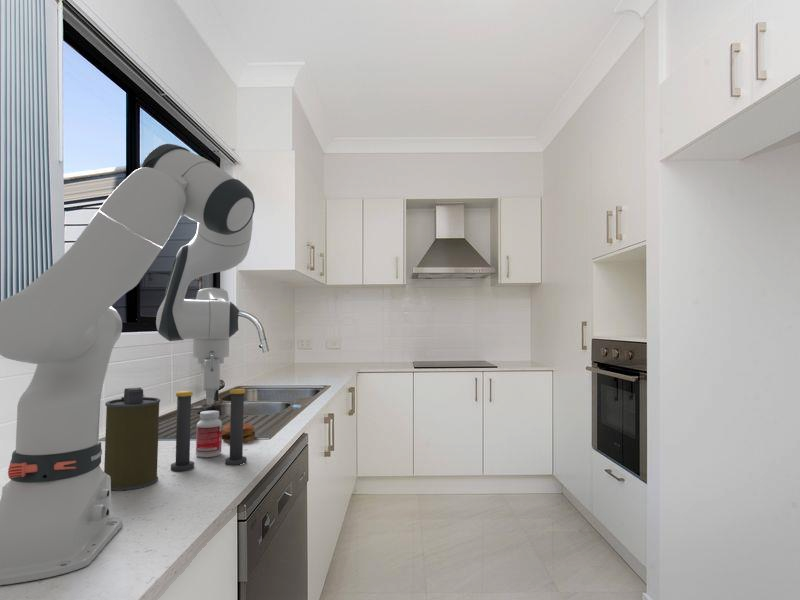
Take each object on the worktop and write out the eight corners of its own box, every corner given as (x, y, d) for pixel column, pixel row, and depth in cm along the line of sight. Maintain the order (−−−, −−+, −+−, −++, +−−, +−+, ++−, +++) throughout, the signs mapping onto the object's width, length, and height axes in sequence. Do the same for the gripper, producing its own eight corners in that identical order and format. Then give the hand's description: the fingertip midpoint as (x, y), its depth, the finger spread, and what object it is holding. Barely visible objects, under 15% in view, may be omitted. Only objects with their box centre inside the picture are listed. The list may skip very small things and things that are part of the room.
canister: (164, 483, 104) (167, 389, 105) (109, 494, 97) (112, 393, 98) (149, 471, 112) (151, 384, 113) (96, 481, 105) (100, 387, 106)
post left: (193, 469, 114) (195, 393, 114) (170, 472, 112) (172, 394, 112) (193, 464, 118) (195, 390, 119) (171, 466, 116) (173, 391, 117)
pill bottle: (223, 455, 126) (224, 412, 126) (198, 459, 122) (199, 414, 123) (218, 450, 131) (219, 408, 131) (193, 453, 127) (194, 411, 128)
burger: (238, 434, 149) (238, 419, 150) (261, 438, 145) (262, 422, 145) (212, 442, 141) (213, 425, 141) (237, 446, 136) (237, 429, 137)
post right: (247, 464, 118) (249, 390, 119) (225, 466, 116) (227, 391, 117) (245, 459, 123) (247, 387, 124) (224, 461, 121) (226, 388, 122)
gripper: (226, 352, 119) (225, 409, 119) (222, 348, 138) (220, 397, 138) (198, 353, 117) (196, 411, 116) (197, 348, 136) (196, 398, 135)
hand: (209, 403), depth 127 cm, fingers closed
